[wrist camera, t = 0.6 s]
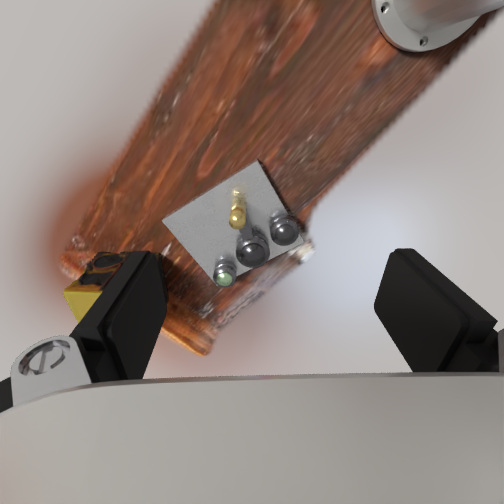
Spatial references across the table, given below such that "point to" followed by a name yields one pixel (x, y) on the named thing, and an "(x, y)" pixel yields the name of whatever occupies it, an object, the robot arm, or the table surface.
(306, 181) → the table surface
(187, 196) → the table surface
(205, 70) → the table surface
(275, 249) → the plate
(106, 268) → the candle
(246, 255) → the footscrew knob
